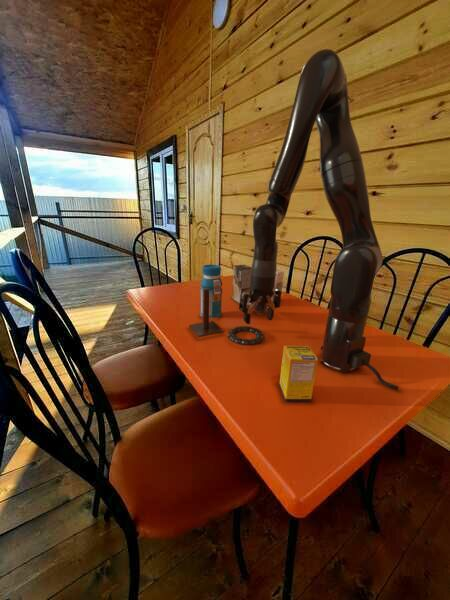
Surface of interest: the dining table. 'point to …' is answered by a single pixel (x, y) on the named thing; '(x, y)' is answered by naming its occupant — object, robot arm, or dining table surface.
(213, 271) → the beverage bottle
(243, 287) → the coffee box
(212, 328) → the stand
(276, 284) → the syrup box
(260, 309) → the beverage cup
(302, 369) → the supplement box
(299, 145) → the robot arm
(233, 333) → the ring
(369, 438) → the dining table surface
